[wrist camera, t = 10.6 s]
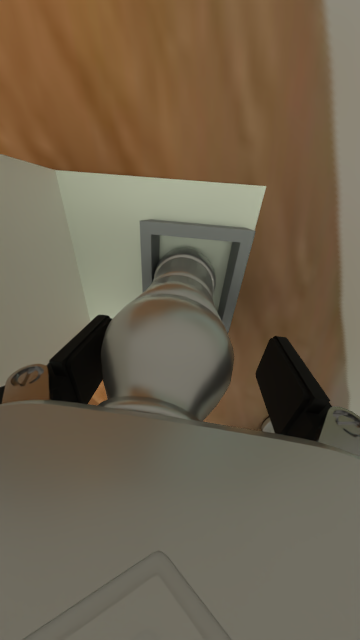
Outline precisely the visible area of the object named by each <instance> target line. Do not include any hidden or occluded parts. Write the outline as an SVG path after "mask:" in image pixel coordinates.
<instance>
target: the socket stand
mask: <svg viewBox="0 0 360 640" xmlns="http://www.w3.org/2000/svg"><path fill="white" fill-rule="evenodd" d="M265 189H266V186H256V185H243V184H229V183H216V182H203V181H190V180H177V179H164V178H151V177H138V176H125V175H112V174H99V173H86V172H73V171H59V170H53V169H50V168H46V167H43V166H39V165H36V164H32V163H29V162H26V161H22V160H19V159H15V158H12V157H9V156H5V155H2V154H0V387H2V386H4V385H5V383H6V381H7V379H8V377H9V376H10V375H11V374H12V373H14V372H15V371H17V370H18V369H20V368H22V367H25V366H28V365H32V364H43V365H45V366H46V365H47V364H48V363H49V360H50V359H51V358H52V357H53V356H54V355H55V354H56V353H57V352H58V351H60V350H61V349H62V348H63V347H64V346H65V345H66V344H67V343H68V342H69V341H70V340H71V339H72V338H74V337H75V336H76V335H77V334H78V333H79V332H80V331H81V330H82V329H83V328H84V327H85V326H86V325H88V324H89V323H90V322H91V321H92V320H93V319H94V318H95V317H96V316H97V315H108V316H109V317H110V318H112V319H113V318H114V317H115V316H116V315H117V314H118V313H119V312H120V311H121V310H122V309H123V308H124V307H125V306H126V305H127V304H129V303H130V302H131V301H133V300H134V299H135V298H137V297H138V296H139V295H141V294H142V293H143V292H145V291H146V290H147V289H148V287H149V286H150V285H151V284H152V282H153V280H154V274H155V271H156V267H157V264H158V263H159V261H160V259H161V258H162V257H163V256H164V255H165V254H167V253H168V252H170V251H172V250H174V249H179V248H189V249H193V250H196V251H198V252H200V253H201V254H203V255H204V256H205V257H206V258H207V259H208V260H209V261H210V263H211V264H212V266H213V268H214V271H215V276H216V284H215V290H214V293H213V301H214V304H215V308H216V310H217V312H218V314H219V316H220V318H221V320H222V322H223V324H224V326H225V328H226V331H227V333H228V332H229V328H230V325H231V321H232V317H233V313H234V310H235V306H236V302H237V298H238V295H239V291H240V287H241V283H242V280H243V276H244V272H245V268H246V265H247V261H248V257H249V254H250V250H251V246H252V242H253V239H254V235H255V227H256V223H257V219H258V215H259V212H260V208H261V204H262V200H263V197H264V193H265Z"/></svg>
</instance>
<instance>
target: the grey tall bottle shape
mask: <svg viewBox="0 0 360 640" xmlns="http://www.w3.org/2000/svg"><path fill="white" fill-rule="evenodd" d="M215 284H216V276H215V271H214V268H213V266H212V264H211V263H210V261H209V260H208V259H207V258H206V257H205V256H204V255H203V254H201V253H200V252H198V251H196V250H193V249H189V248H179V249H174V250H172V251H170V252H168V253H167V254H165V255H164V256H163V257H162V258H161V259H160V261H159V263H158V264H157V267H156V271H155V274H154V280H153V282H152V284H151V285H150V286H149V287H148V289H147V290H146V291H145V292H143V293H142V294H141V295H139V296H138V297H137V298H135V299H134V300H133V301H131V302H130V303H129V304H127V305H126V306H125V307H124V308H123V309H122V310H121V311H120V312H119V313H118V314H117V315H116V316H115V317H114V318H113V319H112V320H111V321H110V323H109V325H108V327H107V329H106V332H105V336H104V339H103V343H102V348H101V364H102V374H103V382H104V386H105V390H106V394H107V398H108V400H106V401H103V402H102V403H100V404H99V405H98V406H103V407H110V408H116V409H123V410H130V411H136V412H143V413H150V414H156V415H163V416H169V417H176V418H182V419H188V420H195V421H201V422H203V420H204V419H205V418H206V417H207V416H208V415H209V414H210V412H211V411H212V410H213V409H214V408H215V407H216V405H217V404H218V403H219V401H220V399H221V398H222V396H223V395H224V393H225V392H226V390H227V388H228V386H229V384H230V381H231V376H232V370H233V364H234V353H233V347H232V344H231V342H230V339H229V336H228V333H227V331H226V328H225V326H224V324H223V322H222V320H221V318H220V316H219V314H218V312H217V310H216V308H215V304H214V301H213V293H214V290H215Z"/></svg>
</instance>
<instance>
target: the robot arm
mask: <svg viewBox="0 0 360 640" xmlns="http://www.w3.org/2000/svg"><path fill="white" fill-rule="evenodd" d="M111 320H112V318H110V317H109V316H108V315H97V316H96V317H95V318H94V319H93V320H92V321H91V322H90V323H89V324H88V325H86V326H85V327H84V328H83V329H82V330H81V331H80V332H79V333H78V334H77V335H76V336H75V337H74V338H72V339H71V340H70V341H69V342H68V343H67V344H66V345H65V346H64V347H63V348H62V349H61V350H60V351H58V352H57V353H56V354H55V355H54V356H53V357H52V358H51V359H50V360H49V363H48V364H47V365H46V366H45V365H43V364H32V365H28V366H25V367H22V368H20V369H18V370H17V371H15V372H14V373H12V374H11V375H10V376H9V377H8V379H7V381H6V383H5V385H4V386H2V387H0V640H360V417H359V416H358V415H356V414H355V413H353V412H352V411H350V410H347V409H345V408H342V407H335V406H334V407H332V406H331V405H330V403H329V401H330V400H329V398H328V397H327V395H326V394H325V392H324V391H323V390H322V388H321V387H320V385H319V384H318V382H317V381H316V379H315V378H314V377H313V375H312V374H311V372H310V371H309V369H308V368H307V366H306V365H305V364H304V362H303V361H302V359H301V358H300V356H299V355H298V354H297V352H296V351H295V349H294V348H293V346H292V345H291V343H290V342H289V341H288V339H287V338H285V337H278V336H274V337H273V338H271V339H270V340H269V342H268V344H267V347H266V349H265V352H264V354H263V356H262V359H261V361H260V364H259V366H258V368H257V371H256V378H257V381H258V384H259V387H260V390H261V393H262V396H263V399H264V402H265V405H266V408H267V411H268V414H269V418H268V419H266V420H265V422H264V423H263V425H262V431H257V430H251V429H245V428H239V427H232V426H226V425H220V424H214V423H208V422H201V421H195V420H188V419H182V418H176V417H169V416H163V415H156V414H150V413H143V412H136V411H130V410H123V409H116V408H110V407H103V406H96V405H89V404H88V402H89V401H90V399H91V398H92V396H93V394H94V393H95V391H96V389H97V388H98V386H99V385H100V383H101V381H102V380H103V374H102V364H101V348H102V343H103V339H104V336H105V332H106V329H107V327H108V325H109V323H110V321H111Z"/></svg>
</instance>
